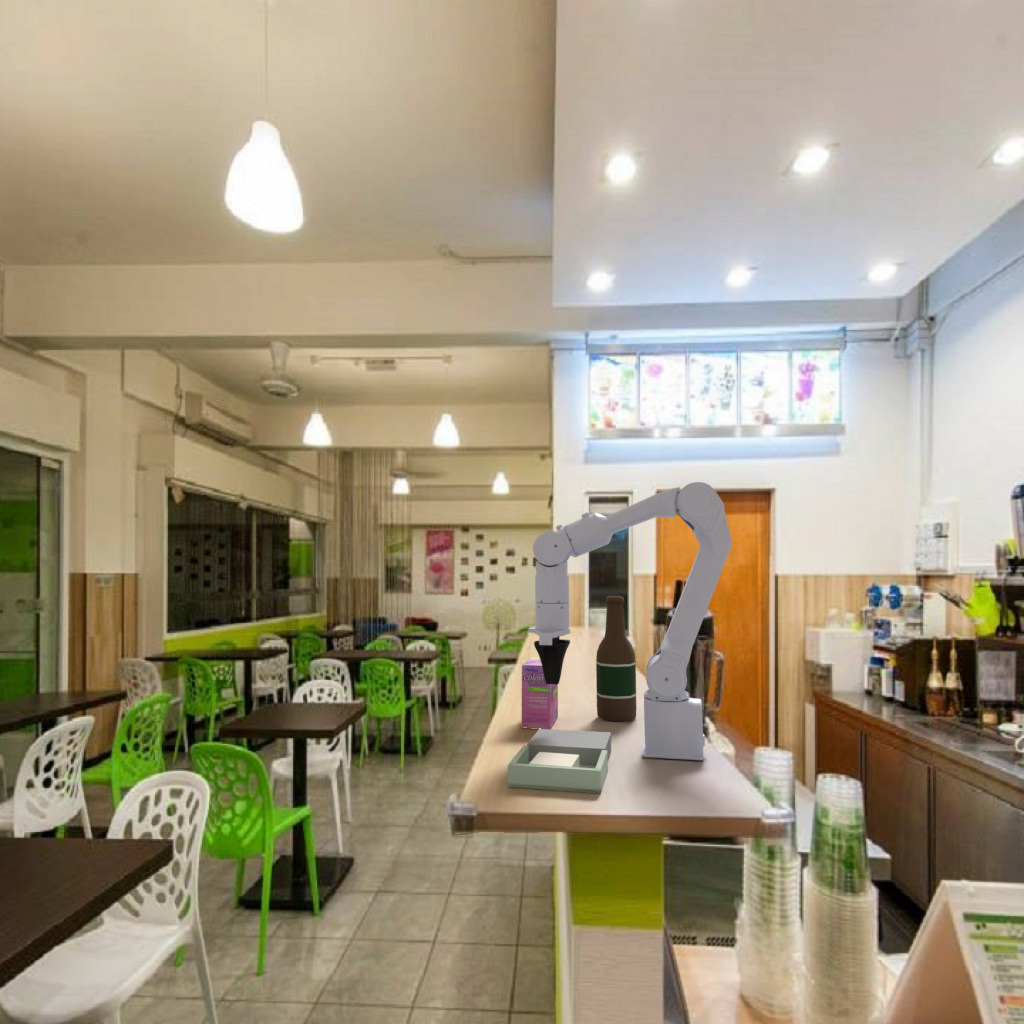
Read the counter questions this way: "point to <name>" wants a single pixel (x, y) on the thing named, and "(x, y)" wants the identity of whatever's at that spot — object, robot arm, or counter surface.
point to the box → (537, 697)
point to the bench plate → (571, 744)
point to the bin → (557, 774)
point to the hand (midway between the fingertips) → (552, 683)
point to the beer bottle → (615, 668)
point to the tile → (556, 759)
